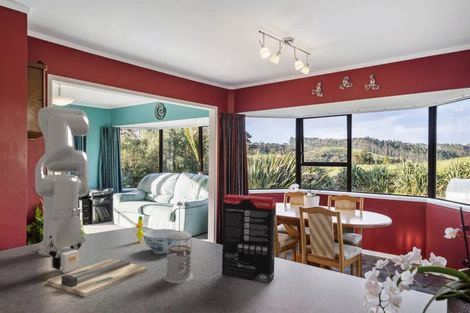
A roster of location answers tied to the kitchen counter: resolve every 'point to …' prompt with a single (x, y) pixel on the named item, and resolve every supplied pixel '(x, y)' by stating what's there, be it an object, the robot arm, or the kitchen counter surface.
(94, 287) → the din panel
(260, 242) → the graphics card box
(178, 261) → the french press
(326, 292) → the kitchen counter surface
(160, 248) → the chinaware
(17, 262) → the kitchen counter surface
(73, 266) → the block
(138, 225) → the toy figure
